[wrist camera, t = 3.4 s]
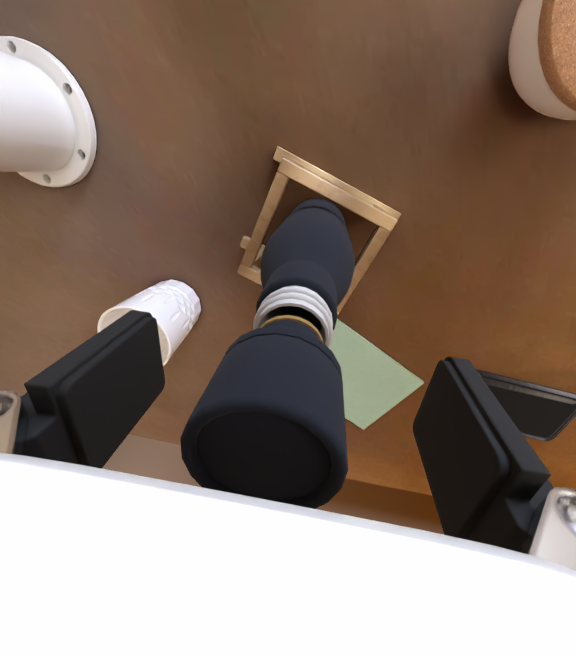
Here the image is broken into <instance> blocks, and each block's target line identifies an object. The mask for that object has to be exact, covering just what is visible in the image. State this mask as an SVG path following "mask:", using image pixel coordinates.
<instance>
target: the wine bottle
mask: <svg viewBox="0 0 576 656" xmlns="http://www.w3.org/2000/svg"><path fill="white" fill-rule="evenodd" d="M354 269H355V261H354V251H353V248H352V244H351V241H350V237H349V234H348V230H347V227H346V223H345V220H344V218H343V215H342V213H341V211H340V210H339V209H338V208H337V206H336V205H335V204H333V203H331V202H330V201H328V200H326V199H319V198H314V199H309V200H306V201H304V202H302V203H301V204H299V205H298V206H297V207H296V208H295V209H294V210H293V212H292V213H291V214H290V215H289V216H288V217H287V218H286V219H285V221H284V222H283V223H282V224H281V225H280V226H279V227H278V228H277V230H276V231H275V232H274V233H273V234H272V235H271V236H270V238H269V239H268V241H267V243H266V246H265V248H264V250H263V253H262V261H261V283H262V287H263V291H262V293H261V295H260V297H259V299H258V301H257V308H256V315H255V317H254V322H253V331H250V332H248V333H246V334H243V335H241V336H240V337H239V338H238V339H237V340H236V341H235V342H234V343H233V344H232V345H231V346H230V347H229V349H228V350H227V352H226V354H225V356H224V357H223V359H222V361H221V363H220V365H219V366H218V368H217V370H216V372H215V373H214V375H213V377H212V379H211V381H210V382H209V384H208V386H207V388H206V389H205V391H204V393H203V395H202V396H201V398H200V400H199V402H198V404H197V405H196V407H195V409H194V411H193V412H192V414H191V416H190V418H189V419H188V422H187V424H186V426H185V429H184V431H183V433H182V436H181V452H182V459H183V461H184V463H185V465H186V467H187V469H188V471H189V473H190V475H191V476H192V477H193V478H194V479H195V480H196V481H197V482H198V484H199V485H200V486H201V487H203V488H208V489H213V490H219V491H224V492H229V493H234V494H240V495H245V496H250V497H255V498H261V499H266V500H271V501H276V502H281V503H287V504H292V505H297V506H302V507H307V508H312V509H315V508H317V507H319V506H322V505H324V504H325V503H327V502H329V501H330V500H331V499H332V498H333V497H334V496H335V495H336V494H337V493H338V492H339V491H340V489H341V488H342V486H343V483H344V480H345V477H346V474H347V472H348V462H347V445H346V428H345V412H344V395H343V381H342V373H341V366H340V365H339V363H338V361H337V359H336V357H335V355H334V354H333V352H332V351H331V350H330V349H329V348H328V347H329V346H330V344H331V340H332V336H333V330H334V329H335V325H336V321H337V317H338V314H337V306H338V305H339V304H340V303H341V302H342V300H343V298H344V297H345V295H346V294H347V292H348V290H349V288H350V285H351V281H352V277H353V273H354Z"/></svg>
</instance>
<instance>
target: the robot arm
mask: <svg viewBox="0 0 576 656" xmlns="http://www.w3.org/2000/svg"><path fill="white" fill-rule="evenodd" d="M96 147H97V140H96V129H95V123H94V118H93V115H92V112H91V109H90V106H89V103H88V101H87V99H86V97H85V95H84V93H83V91H82V89H81V88H80V86H79V85H78V83H77V81H76V80H75V78H74V77H73V76H72V74H71V73H70V72H69V71H68V70H67V68H66V67H65V66H64V65H63V64H62V63H61V62H60V61H59V60H58V59H57V58H55V57H54V56H53V55H52V54H51V53H49V52H48V51H46V50H45V49H43V48H41V47H40V46H38V45H35V44H33V43H31V42H29V41H26V40H24V39H20V38H17V37H13V36H0V172H17V173H19V174H20V175H21V176H23V177H25V178H26V179H28V180H30V181H32V182H34V183H37V184H40V185H42V186H48V187H64V186H70V185H73V184H75V183H77V182H79V181H81V180H82V179H83V178H84V177H85V176H86V175H87V173H88V172H89V170H90V169H91V167H92V165H93V162H94V159H95V154H96ZM24 385H25V387H26V390H27V393H26V394H25V395H23V396H22V397H21V396H20V395H19V394H18V393H17V392H14V391H10V390H0V656H576V490H574V489H571V488H564V487H558V488H554V487H553V486H552V484H551V483H550V482H549V480H548V478H549V477H550V476H551V474H550V473H549V471H548V470H547V468H546V467H545V466H544V464H543V463H542V461H541V460H540V459H539V457H538V456H537V454H536V453H535V452H534V450H533V449H532V447H531V446H530V445H529V443H528V442H527V440H526V439H525V438H524V436H523V435H522V433H521V432H520V431H519V429H518V428H517V426H516V425H515V424H514V422H513V421H512V420H511V418H510V417H509V415H508V414H507V413H506V411H505V410H504V408H503V407H502V406H501V404H500V403H499V401H498V400H497V399H496V397H495V396H494V394H493V393H492V392H491V390H490V389H489V387H488V386H487V385H486V383H485V382H484V380H483V379H482V378H481V376H480V375H479V373H478V372H477V371H476V369H475V368H474V366H473V365H472V364H471V362H470V361H469V360H467V359H460V358H454V357H447V358H446V359H445V360H444V361H443V360H441V361H439V362H438V364H437V366H436V369H435V371H434V374H433V376H432V379H431V381H430V383H429V386H428V388H427V391H426V393H425V396H424V398H423V401H422V403H421V405H420V408H419V410H418V413H417V415H416V418H415V420H414V423H413V433H414V436H415V439H416V443H417V446H418V449H419V453H420V456H421V459H422V462H423V466H424V469H425V472H426V475H427V479H428V482H429V485H430V489H431V492H432V495H433V498H434V502H435V505H436V508H437V512H438V514H439V518H440V521H441V524H442V528H443V531H444V534H445V535H442V534H438V533H433V532H428V531H424V530H419V529H414V528H408V527H404V526H398V525H393V524H388V523H384V522H378V521H373V520H368V519H363V518H358V517H353V516H348V515H343V514H338V513H333V512H328V511H322V510H317V509H312V508H307V507H302V506H297V505H292V504H287V503H281V502H276V501H271V500H266V499H261V498H255V497H250V496H245V495H240V494H234V493H229V492H224V491H219V490H213V489H208V488H203V487H198V486H192V485H187V484H182V483H176V482H170V481H166V480H160V479H155V478H149V477H144V476H139V475H133V474H127V473H122V472H117V471H112V470H106V469H102V467H103V466H104V465H105V463H106V462H107V461H108V460H109V458H110V457H111V456H112V454H113V453H114V452H115V451H116V449H117V448H118V447H119V445H120V444H121V443H122V442H123V440H124V439H125V438H126V436H127V435H128V434H129V433H130V431H131V430H132V429H133V427H134V426H135V425H136V424H137V422H138V421H139V420H140V418H141V417H142V416H143V415H144V413H145V412H146V411H147V409H148V408H149V407H150V406H151V404H152V403H153V402H154V400H155V399H156V398H157V397H158V395H159V394H160V393H161V391H162V390H163V388H164V385H165V377H164V370H163V362H162V355H161V347H160V340H159V333H158V325H157V320H156V318H154V317H153V316H152V315H151V313H149V312H143V311H136V310H131V311H129V312H128V313H126V314H125V315H123V316H122V317H120V318H119V319H117V320H116V321H115V322H113V323H112V324H110V325H109V326H107V327H106V328H104V329H103V330H101V331H100V332H99V333H97V334H96V335H94V336H93V337H91V338H90V339H88V340H87V341H86V342H84V343H83V344H81V345H80V346H78V347H77V348H75V349H74V350H73V351H71V352H70V353H68V354H67V355H65V356H64V357H62V358H61V359H60V360H58V361H57V362H55V363H54V364H52V365H51V366H49V367H48V368H46V369H45V370H44V371H42V372H41V373H39V374H38V375H36V376H35V377H33V378H32V379H31V380H29V381H28V382H26V383H25V384H24Z"/></svg>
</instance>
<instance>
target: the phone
mask: <svg viewBox="0 0 576 656" xmlns="http://www.w3.org/2000/svg"><path fill="white" fill-rule="evenodd" d="M476 371H477V372H478V373H479V375H480V376H481V378H482V379H483V380H484V382H485V383H486V385H487V386H488V387H489V389H490V390H491V392H492V393H493V394H494V396H495V397H496V399H497V400H498V401H499V403H500V404H501V406H502V407H503V408H504V410H505V411H506V413H507V414H508V415H509V417H510V418H511V420H512V421H513V422H514V424H515V425H516V426H517V428H518V429H519V431H520V432H521V433H522V435H523V436H524V437H528V438H532V439H536V440H540V441H550V440H552V439H554V438H555V437H556V436H557V435H558V434H559V433H560V432H561V431H562V430H563V429H564V428H565V427H566V426H567V425H568V424H569V423H570V422H571V420H572V419H573V418H574V417H575V416H576V395H575V394H571V393H567V392H563V391H559V390H555V389H551V388H547V387H543V386H539V385H535V384H531V383H527V382H523V381H519V380H515V379H511V378H507V377H503V376H499V375H495V374H491V373H487V372H483V371H479V370H476Z"/></svg>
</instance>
